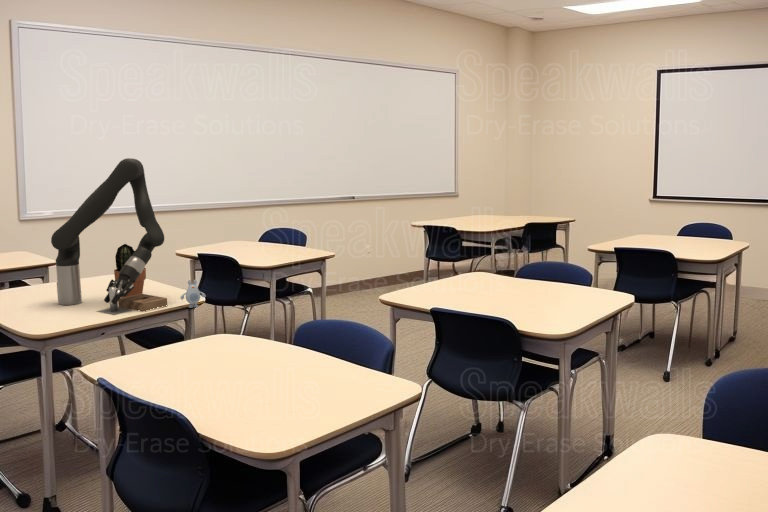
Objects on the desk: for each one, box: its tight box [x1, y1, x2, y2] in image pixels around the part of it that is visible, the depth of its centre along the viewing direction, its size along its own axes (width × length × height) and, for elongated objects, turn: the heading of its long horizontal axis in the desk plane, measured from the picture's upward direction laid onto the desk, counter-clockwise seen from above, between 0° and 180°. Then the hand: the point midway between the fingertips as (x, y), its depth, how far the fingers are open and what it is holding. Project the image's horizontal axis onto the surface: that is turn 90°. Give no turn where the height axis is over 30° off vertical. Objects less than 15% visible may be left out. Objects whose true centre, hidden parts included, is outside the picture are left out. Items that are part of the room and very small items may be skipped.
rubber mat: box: [95, 307, 131, 316], centre depth 286 cm, size 12×9×1 cm
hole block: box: [118, 293, 168, 312], centre depth 294 cm, size 17×12×4 cm
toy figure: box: [179, 279, 207, 309], centre depth 294 cm, size 11×6×12 cm, turn 114°
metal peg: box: [109, 287, 119, 312], centre depth 285 cm, size 3×3×10 cm
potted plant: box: [113, 243, 147, 298], centre depth 312 cm, size 14×14×25 cm
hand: (109, 302), depth 284 cm, fingers open, 4 cm apart
